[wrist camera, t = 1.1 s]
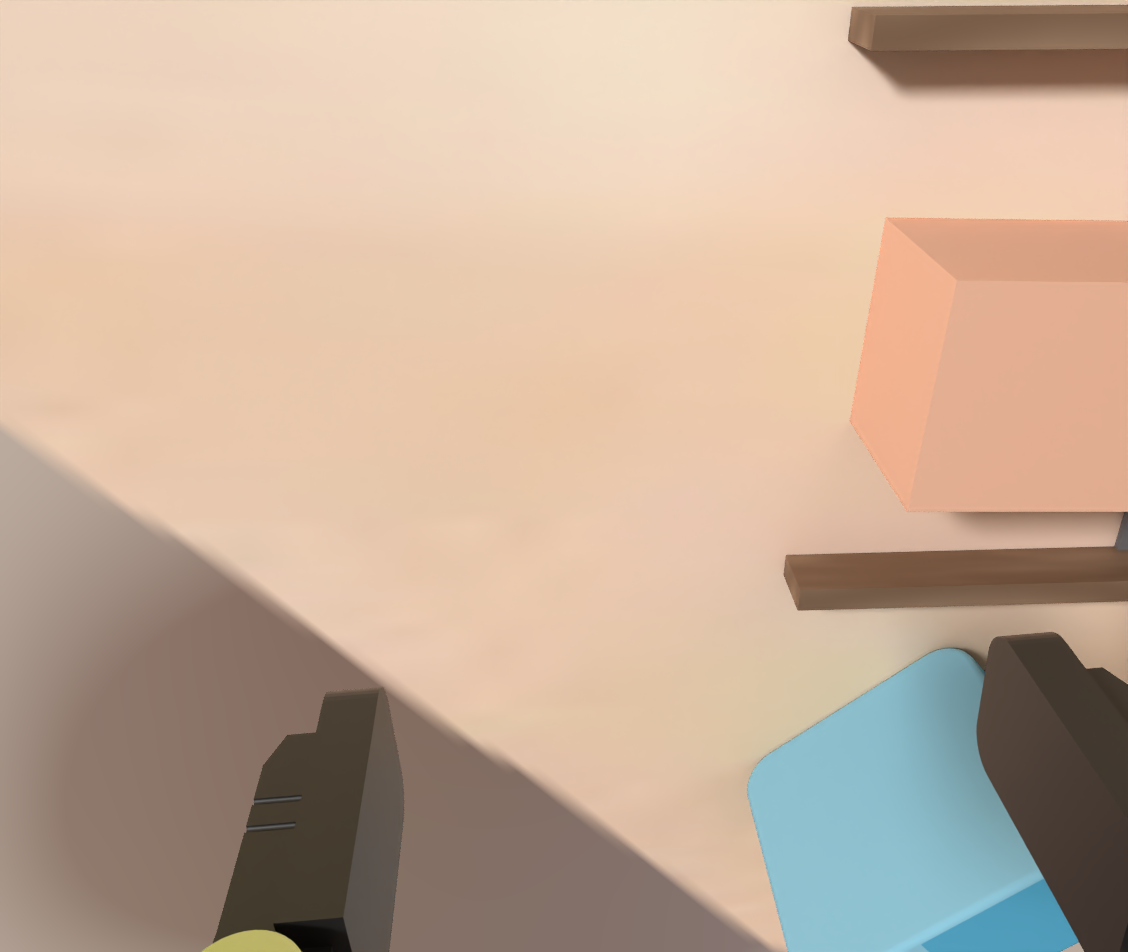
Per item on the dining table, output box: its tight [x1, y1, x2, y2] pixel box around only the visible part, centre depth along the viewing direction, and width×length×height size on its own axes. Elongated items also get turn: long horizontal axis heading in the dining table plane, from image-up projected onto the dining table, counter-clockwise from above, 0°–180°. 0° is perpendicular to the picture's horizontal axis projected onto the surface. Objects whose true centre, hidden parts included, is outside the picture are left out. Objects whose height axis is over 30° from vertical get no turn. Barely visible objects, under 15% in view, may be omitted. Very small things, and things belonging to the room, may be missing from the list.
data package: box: [747, 648, 1079, 952], centre depth 44 cm, size 12×4×12 cm, turn 131°
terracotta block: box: [850, 218, 1128, 512], centre depth 36 cm, size 8×12×7 cm, turn 89°
